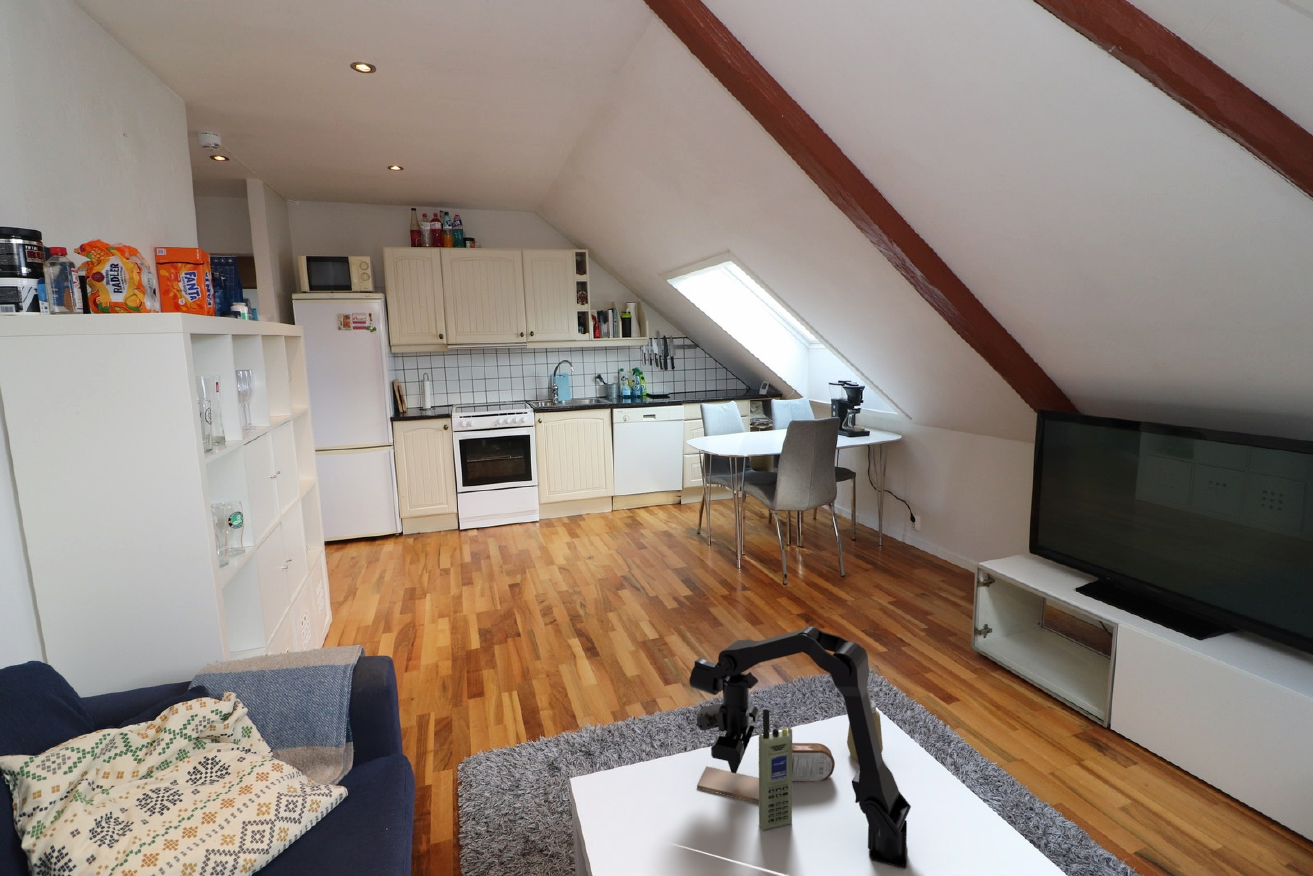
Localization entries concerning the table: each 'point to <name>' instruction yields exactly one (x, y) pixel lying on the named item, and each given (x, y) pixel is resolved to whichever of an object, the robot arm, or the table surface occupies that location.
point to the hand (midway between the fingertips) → (736, 766)
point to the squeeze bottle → (877, 725)
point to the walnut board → (730, 784)
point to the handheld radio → (775, 776)
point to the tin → (811, 762)
